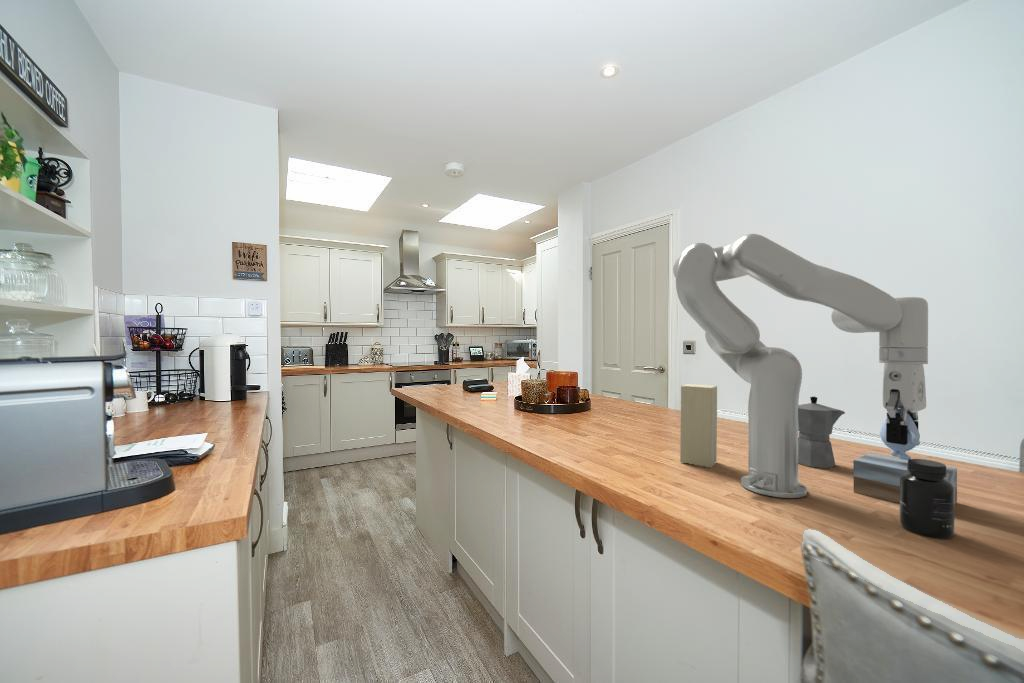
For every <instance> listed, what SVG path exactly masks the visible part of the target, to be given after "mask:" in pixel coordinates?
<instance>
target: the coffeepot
mask: <svg viewBox="0 0 1024 683" xmlns="http://www.w3.org/2000/svg"><path fill="white" fill-rule="evenodd" d="M809 398H810V402H809V403H803V404H798V463H799V464H798V465H801V464H802V466H804V465H806V466H805V467H808V466H811V468H814V467H821V468H820V469H832V468H831V467H833V468H835V467H836V461H835V457H834V452H833V445H832V443H831V442H832V441H831V440H830V435H832V433H833V428H834V425H835V424H836V423H837V421H838V420H839V419H840V417H842V415H844V414H846V412H845V411H844V410H841V409H838V408H833V407H830V406H827V405H823V404H820V403H817V402H818V397H816V396H811V397H809ZM834 466H835V467H834Z"/></svg>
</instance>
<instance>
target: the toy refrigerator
mask: <svg viewBox="0 0 1024 683" xmlns="http://www.w3.org/2000/svg"><path fill="white" fill-rule="evenodd" d="M717 429H718V386H717V385H712V384H711V385H709V384H697V383H696V384H694V383H686V384H683V385H681V386H680V442H679V444H680V445H679V446H680V447H679V448H680V449H679V450H680V453H679V455H680V457H679V458H680V460H679V462H680V463H681V462H683V463H682V464H686V463H689V464H688V465H692V464H694V465H693V466H697V465H700V466H699V467H703V466H706V467H705V468H709V467H711V468H712V467H713V466H714V465H715V464H716V463H717V454H718V453H717V447H718V446H717V444H718V442H717V440H718V439H717V437H718V434H717V433H718V430H717ZM715 462H716V463H715Z"/></svg>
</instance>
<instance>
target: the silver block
mask: <svg viewBox="0 0 1024 683" xmlns="http://www.w3.org/2000/svg"><path fill="white" fill-rule="evenodd" d="M907 467H908V460H903V459H900V458H899V457H895V456H890V455H889V456H888V455H883V454H878V453H872V452H869V453H867V454H864V455H862V456H859V457H858V458H855V459H853V493H855V492H856V494H860V495H863V496H867V497H872V498H875V497H876V499H880V500H885V501H887V502H893V503H895V504H900V478H901V477H902V476H903V475H904V474H907V473H909V471H908V470H907ZM946 473H947V477H945V479H946V480H948V481H949V482H950V483H951V484H952V485H953V486H954V489H955V505H957V503H958V467H953V466H952V467H951V466H946Z"/></svg>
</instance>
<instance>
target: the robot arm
mask: <svg viewBox="0 0 1024 683" xmlns="http://www.w3.org/2000/svg"><path fill="white" fill-rule="evenodd" d="M672 271H673V272H672V273H673V275H674V277H675V288H676V293H677V298H678V300H679V302H680V304H681V306H682V308H683V309H684V310H685V311H686V312H687V314H688V315H689V316H690V317H691V318H692V319H693V320H694V321H695V323H696V324H697V325H698V326H699V327H700V328H701V329H702V330H703V331H704V332H705V334H704V336H705V340H706V341H705V342H706V343H707V345H708V346H709V347H710V349H711V350H712V351H713V352H714V353H715V354H716V355H717V356H718V357H719V358H720V359H721V360H722V361H723V362H724V363H725V364H726V365H727V366H728V367H729V368H730V369H731V370H732V371H733V372H734V373H735V374H737V376H738V377H740V378H741V379H742V380H743V381H745V383H747V384H750V390H749V394H748V396H749V397H748V402H747V404H748V407H747V416H748V417H747V418H748V419H747V421H748V423H747V424H748V425H747V426H748V427H747V429H748V432H747V433H748V435H747V437H748V438H747V439H748V440H747V441H748V442H747V444H748V450H747V451H748V454H747V455H748V467H747V468H748V474H746V475H744V476H742V477H741V478H740V484H741V486H742V487H743V488H744V489H747V490H749V491H751V492H754V493H756V494H760V495H763V496H764V495H765V496H768V497H775V498H781V499H797V498H798V499H799V498H802V497H803V498H804V497H805V496H807V494H808V488H807V486H806V485H804V484H803V483H802V482H799V464H798V438H799V431H798V405H799V398H800V392H801V386H802V379H803V370H802V365H801V363H800V360H799V359H798V357H796V356H795V355H794V354H793V353H792V352H790V351H788V350H787V349H784V348H780V347H773V346H771V347H769V346H767V345H765V344H764V342H762V341H761V340H760V338H761V337H760V336H761V334H760V330H759V327H758V325H756V323H755V322H754V321H753V320H752V319H751V318H750V317H749V316H748V315H746V314H745V312H743V311H742V310H741V309H740V308H739V307H738V306H737V305H735V303H733V301H732V300H730V299H729V298H728V297H727V296H726V294H725V293H723V292H724V291H722V290H721V289H720V288H719V285H718V282H722V281H728V280H732V279H737V278H741V277H746V276H748V277H751V278H753V279H754V280H757V281H758V282H760V283H761V284H764V285H765V286H767V287H769V288H770V289H771V290H774V291H776V292H777V293H779V294H781V295H782V296H784V297H786V298H790V299H793V300H797V301H803V302H809V303H810V302H811V303H814V304H819V305H822V306H825V307H828V308H830V309H833V310H832V311H831V317H830V318H831V321H832V323H833V325H834V326H835V327H836V328H837V329H839V330H840V331H843V332H846V333H852V334H853V333H854V334H860V333H861V334H863V333H879V337H878V338H879V339H878V351H879V352H878V355H879V356H878V357H879V358H878V363H881V364H883V365H884V367H883V376H882V377H883V379H882V380H883V381H882V406H883V408H884V409H885V410H886V417H887V419H886V418H885V419H886V422H887V423H886V441H887V442H889V443H895V444H901V445H906V444H907V443H908V425H905V423H906V416H907V413H908V414H909V415H910V416H911V418H912V420H913V421H914V423H915V425H916V427H917V429H918V430H919V412H920V411H923V410H924V409H926V407H927V392H926V391H927V390H926V389H927V388H926V376H925V368H924V365H928V364H929V303H928V301H927V300H926V299H925V298H923V297H916V296H912V297H911V296H910V297H909V296H907V297H893V296H892V295H891V294H889V293H887V292H886V291H884V290H882V289H880V288H879V287H877V286H876V285H873V284H871V283H870V282H867V281H865V280H863V279H862V278H858V277H856V276H853V275H851V274H848V273H844V272H841V271H838V270H834V269H832V268H829V267H826V266H823V265H818V264H816V263H814V262H811V261H810V260H808V259H806V258H804V257H803V256H801V255H798V254H796V253H795V252H793V251H791V250H789V249H787V248H786V247H783V246H782V245H780V244H778V243H777V242H774V241H773V240H771V239H770V238H767V237H765V236H763V235H761V234H758V233H748V234H745V235H743V236H740V237H739V238H737V239H736V240H735V241H734V242H731V243H730V244H726V245H723V246H718V247H712V246H711V245H709V244H708V243H705V242H695V243H693V244H690V245H689V246H687V247H686V248H684V249H683V250H682V252H681V253H680V254H679V255H678V257H677V258H676V259H675V261H674V264H673V267H672ZM897 408H898V409H897ZM901 408H902V409H901ZM899 413H900V414H902V415H900V414H899ZM900 416H901V417H900Z"/></svg>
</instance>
